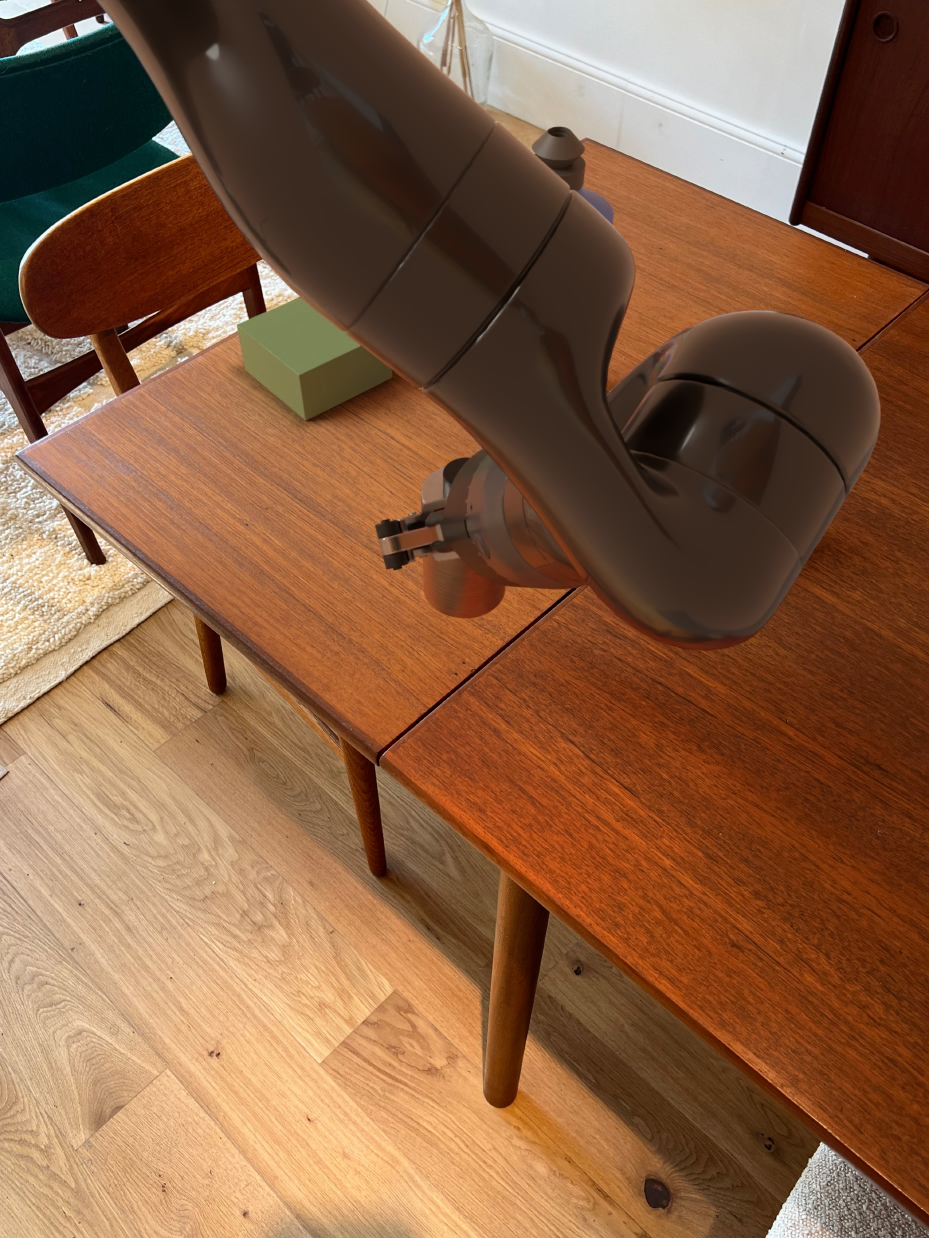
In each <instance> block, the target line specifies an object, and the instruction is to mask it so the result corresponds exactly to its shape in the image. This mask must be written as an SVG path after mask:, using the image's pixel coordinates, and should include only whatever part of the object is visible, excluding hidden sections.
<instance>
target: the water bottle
mask: <svg viewBox="0 0 929 1238" xmlns="http://www.w3.org/2000/svg"><path fill="white" fill-rule="evenodd" d="M531 150H532V152H533V153H534V154H535V155H536V156H537V157H538V158H539V159H540V160H541V161H542V162H544V163H545V164H546V165H547V166H548V167H549V168H550V169H551V170H553V171H554V172H555V173H556V174H557V175H558V176H559V177H560V178H561V179H563V180H564V181H565V182H566V183H567V184H568V185H569V186H570V190H575V191H576V192H577V193H579V194H580V195H581V196H582V197H583V198H584V199H585V200H586V201H588V202H589V203H590V204H591V205H592V206H593V207H594V208H595V209H596V210H598V211H599V212H600V213H601V214H602V215H603V216H604V217H605V218H606V219H607V220H608V221H609V222H610V223H611V224H612V225H613V226H614V218H615V217H614V216H615V212H614V209H613V206H612V205H611V204H610V202H609V201H608V200H607V199H606V198H605V197H603V196H602V195H600V194H599V193H597V192H595V191H593V190H591V189H588V188H586V187H584V185H585V174H586V160H585V159H584V158H583V157H582V156H583V154H584V153H585V151H586V148H585V145H584V144H583V142H582V141H581V140H580V139H579V138H578V137H577V136H576V135H575V133H574V132H573V131H572V130H571V129H570V128H568V127H566V126H552V127H550V128H548V129H547V130H546V131H544V133H543V134H542V135H541V136H539V137H538V138H537V139H536V140H534V141H533V143H532V144H531Z"/></svg>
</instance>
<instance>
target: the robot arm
mask: <svg viewBox="0 0 929 1238" xmlns="http://www.w3.org/2000/svg"><path fill="white" fill-rule="evenodd" d="M95 2H96V3H97V4H98V5H99V7H101V8H102V10H103V11H104V12H105V14H106V15H107V16H108V17H109V19H110V20H111V22H112V23H113V25H114V26H115V27H116V29H117V31H118V32H119V33H120V34H121V36H122V37H123V38H124V40H125V41H126V43H127V44H128V45H129V47H130V48H131V50H132V52H133V53H134V54H135V56H136V58H137V59H138V61H139V62H140V65H141V66H142V68H143V70H144V71H145V73H146V75H148V77H149V79H150V80H151V82H152V84H153V85H154V86H153V87H155V89H156V90H157V93H158V94H159V96H160V98H161V99H162V101H163V103H164V105H165V107H166V109H167V111H168V112H169V114H170V116H171V118H172V120H173V122H174V124H175V125H176V127H177V129H178V131H179V134H180V135H181V137H182V139H183V140H184V142H185V144H186V146H187V148H188V150H189V151H190V153H191V155H192V156H193V158H194V160H195V162H196V163H197V165H198V167H199V169H200V170H201V172H202V174H203V176H204V177H205V180H206V181H207V183H208V184H209V186H210V188H211V190H212V191H213V194H214V195H215V196H216V198H217V200H218V201H219V203H220V205H221V206H222V207H223V209H224V211H225V212H226V214H227V215H228V217H229V219H231V221H232V223H233V224H234V225H235V226H236V227H237V229H238V230H239V231H240V233H241V234H242V236H243V237H244V238H245V240H246V242H248V244H249V245H250V246H251V247H252V249H253V250H254V251H255V252H256V253H257V255H258V256H259V257H260V258H261V259H262V260H263V262H265V264H266V265H267V266H268V267H269V269H271V270H272V272H274V273H275V275H276V276H278V277H279V278H280V279H281V280H282V282H284V284H285V285H286V286H288V288H289V289H291V290H292V291H293V292H294V293H295V294H296V295H297V296H298V297H301V298H302V299H303V300H304V301H305V302H307V303H308V304H309V305H310V306H311V307H312V308H313V309H315V310H316V311H317V312H318V313H319V314H321V315H322V316H323V317H325V318H326V319H327V320H328V321H330V322H331V323H332V324H334V325H335V326H336V327H337V328H339V329H340V330H341V331H343V332H346V333H347V335H348V336H349V337H350V338H352V339H353V340H354V341H355V342H357V343H358V344H359V345H361V346H362V347H363V348H365V349H366V350H367V351H368V352H370V353H371V354H372V355H374V356H375V357H376V358H377V359H379V360H380V361H381V362H383V363H384V364H385V365H387V366H388V367H389V368H390V369H392V372H394V373H395V374H397V375H398V376H399V377H400V378H402V379H404V381H406V382H407V383H408V384H410V385H411V386H413V388H415V389H420V391H421V393H422V395H424V396H426V397H427V398H428V399H429V400H430V401H431V402H433V403H435V404H436V405H437V406H438V407H440V408H441V409H442V410H443V411H444V412H445V413H446V414H447V415H449V417H451V418H452V419H453V420H454V421H455V422H457V424H458V425H460V427H462V429H463V430H464V431H465V432H467V434H469V436H470V437H471V438H472V439H473V440H474V441H475V442H476V443H477V445H478V446H479V447H480V448H481V449H480V450H478V451H477V452H476V453H474V454H473V455H472V456H471V457H469V458H470V459H469V460H468V461H467V462H466V463H465V464H464V465H463V466H462V467H461V469H460V470H459V472H458V473H457V475H456V477H455V479H454V481H453V483H452V485H451V488H450V491H449V494H448V497H447V498H443V499H439V500H435V501H431V502H427V503H424V504H423V505H422V507H421V506H420V513H418V512H417V511H413V512H410V513H407V516H404V517H401V518H398V519H393V520H391V518H386V519H382V520H380V523H376V524H375V525H374V528H375V531H376V535H377V539H378V544H379V547H380V551H381V555H382V558H383V562H384V566H385V570H386V571H387V570H393V571H398V570H402V569H403V566H407V565H409V564H410V563H414V562H416V558H418V559H420V560H421V559H423V558H425V557H428V556H427V555H432V556H433V558H434V559H435V560H436V561H437V562H441V561H447V560H453V559H459V558H461V559H462V560H463V561H464V563H465V564H466V565H467V566H468V567H469V568H471V569H472V570H473V571H474V572H475V573H477V574H478V575H479V576H481V577H483V578H484V579H486V580H488V581H491V582H493V583H496V584H499V585H504V586H506V587H510V588H512V587H513V588H526V589H527V588H529V589H542V590H569V589H570V590H571V589H576V588H581V587H585V586H588V587H589V588H590V589H591V591H592V592H593V594H595V595H596V597H597V598H598V599H599V600H600V601H601V602H602V604H604V605H605V606H606V607H607V608H608V609H609V610H610V611H611V612H612V613H614V615H616V616H617V617H618V618H620V619H621V620H622V621H623V622H624V623H625V624H627V625H628V626H629V627H630V628H633V629H634V630H636V631H638V632H639V633H640V634H642V635H644V636H646V637H648V638H650V639H652V640H654V641H656V642H659V643H661V644H664V645H667V646H671V647H673V648H679V649H682V650H688V651H689V650H690V651H705V652H710V651H717V650H725V649H729V648H732V647H735V646H737V645H741V644H743V643H745V642H747V641H748V640H750V639H752V638H753V637H755V636H756V635H757V634H758V633H759V632H760V631H762V629H763V628H765V626H766V625H768V624H769V621H770V620H771V619H772V618H773V617H774V616H775V614H776V612H777V611H778V609H779V608H780V606H781V605H782V603H783V601H784V600H785V598H787V595H788V594H789V592H790V590H791V589H792V587H793V586H794V584H795V583H796V580H798V577H799V576H800V574H801V571H802V570H803V568H804V567H805V565H806V563H808V560H809V558H810V557H811V555H812V554H813V552H814V550H816V547H818V545H819V543H820V541H821V540H822V538H823V537H824V535H825V534H826V532H827V531H828V528H829V527H830V525H831V524H832V522H833V521H834V519H835V518H836V516H837V514H838V513H839V511H840V510H841V508H842V506H843V505H844V502H845V501H846V500H847V498H848V497H849V495H850V494H851V492H852V490H853V488H854V487H855V485H856V483H857V481H858V480H859V478H860V477H861V475H862V474H863V472H864V470H865V468H866V467H867V465H868V463H869V461H870V459H871V457H872V454H873V452H874V450H875V447H876V444H877V442H878V437H879V434H880V433H879V432H880V427H881V419H882V412H881V401H880V396H879V391H878V388H877V387H878V386H877V384H876V381H875V379H874V377H873V375H872V373H871V371H870V370H869V367H868V366H867V364H866V363H865V361H864V359H863V358H862V357H861V355H860V354H859V353H858V351H856V349H854V347H852V345H850V343H848V342H847V341H846V340H845V339H844V338H842V337H841V336H839V335H838V334H836V332H834V331H832V330H830V329H829V328H827V327H826V326H824V325H822V324H820V323H817V322H816V321H814V320H811V319H808V318H806V317H803V316H800V315H796V314H792V313H787V312H783V311H782V312H781V311H775V310H774V311H773V310H757V309H756V310H742V311H734V312H727V313H722V314H718V315H715V316H711V317H709V318H706V319H703V320H700V321H698V322H696V323H694V324H692V325H690V326H688V327H686V328H685V329H682V330H681V331H679V332H678V333H677V334H675V335H674V336H672V337H671V338H669V339H668V340H666V341H665V342H664V343H663V344H661V345H660V346H659V347H657V348H656V349H655V350H654V351H653V352H651V353H650V354H649V355H648V356H647V357H646V358H644V359H643V360H642V361H641V362H640V363H638V365H636V366H635V367H634V368H633V369H632V370H630V371H629V373H628V374H626V375H625V376H624V377H623V378H622V379H621V380H620V381H618V382H617V383H616V384H615V385H614V386H613V387H612V388H611V389H610V390H609V391H608V390H607V388H608V379H609V368H610V364H611V361H612V356H613V353H614V349H615V346H616V344H617V340H618V337H619V334H620V331H621V329H622V325H623V323H624V320H625V317H626V314H627V311H628V308H629V305H630V302H631V299H632V295H633V291H634V288H635V283H636V269H637V268H636V261H635V257H634V254H633V252H632V249H631V247H630V246H629V244H628V242H627V241H626V239H625V238H624V237H623V235H622V234H621V233H620V231H619V230H618V229H617V228H616V227H615V226H614V224H613V225H612V224H611V223H610V222H609V221H608V220H607V219H606V218H605V217H604V216H603V215H602V214H601V213H600V212H599V211H598V210H596V209H595V208H594V207H593V206H592V205H591V204H590V203H589V202H588V201H586V200H585V199H584V198H583V197H582V196H581V195H580V194H579V193H577V192H576V191H575V190H570V186H569V185H568V184H567V183H566V182H565V181H564V180H563V179H561V178H560V177H559V176H558V175H557V174H556V173H555V172H554V171H553V170H551V169H550V168H549V167H548V166H547V165H546V164H545V163H544V162H542V161H541V160H540V159H539V158H538V157H537V156H536V155H535V153H534V152H533V151H531V150H530V149H529V148H528V147H527V146H526V145H525V144H524V143H523V142H521V141H520V140H519V139H518V138H517V137H516V136H514V134H513V133H512V132H510V131H509V129H507V128H506V127H504V125H502V124H501V123H500V122H499V121H497V120H496V118H495V117H494V115H492V114H491V113H489V112H488V111H487V110H486V109H485V108H484V107H483V106H482V105H481V104H479V103H478V102H477V101H476V100H475V99H474V98H472V97H471V96H470V94H468V93H467V92H466V91H465V90H464V89H462V88H461V87H460V86H459V85H458V84H457V83H456V82H454V81H453V80H452V79H451V78H450V77H449V76H447V74H445V73H444V72H443V71H442V70H441V69H440V68H439V67H438V66H437V65H435V64H434V62H432V61H431V60H430V59H429V58H428V57H427V56H426V55H425V54H424V53H423V52H422V51H420V50H419V49H418V48H417V47H416V46H415V45H414V44H413V43H412V42H411V41H410V40H409V39H408V38H406V36H404V35H403V34H402V33H401V32H400V31H399V30H398V29H397V28H396V27H395V26H394V25H393V24H392V23H391V22H389V20H388V19H386V17H385V16H384V15H383V14H382V13H381V12H380V11H379V10H377V8H376V7H375V6H374V5H372V4H371V2H369V1H368V0H95ZM393 571H392V572H393Z"/></svg>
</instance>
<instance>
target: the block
mask: <svg viewBox="0 0 929 1238" xmlns="http://www.w3.org/2000/svg"><path fill="white" fill-rule="evenodd" d="M236 329H237V334H238V339H239V340H238V341H239V346H240V350H241V355H242V361H243V365H244V370H245V372H246V373H248V375H250V376H251V377H253V378H254V379H255V380H256V381H258V383H259V384H261V385H262V386H263V387H265V388H266V389H267V390H268V391H269V392H271V394H273V395H274V396H275V397H276V398H278V400H281V402H282V403H283V404H285V405H286V406H287V407H288V408H289V409H290V410H292V411H293V412H294V413H295V414H297V415H298V416H299V417H300V418H301V419H303V420H304V421H305V422H307V421H309V420H310V419H312V418H315V417H317V416H318V415H321V414H322V413H325V412H327V411H329V410H330V409H332V408H334V407H336V406H338V405H340V404H342V403H345V402H346V401H348V400H350V399H353V398H354V397H357V396H358V395H361V394H362V393H365V392H367V391H369V390H371V389H373V388H374V387H376V386H379V385H381V384H382V383H384V382H387V381H389V380H391V379H392V378H393V370H392V369H390V368H389V367H388V366H387V365H385V364H384V363H383V362H381V361H380V360H379V359H377V358H376V357H375V356H374V355H372V354H371V353H370V352H368V351H367V350H366V349H365V348H363V347H362V346H361V345H359V344H358V343H357V342H355V341H354V340H353V339H352V338H350V337H349V336H348V335H347V333H346V332H343V331H341V330H340V329H339V328H337V327H336V326H335V325H334V324H332V323H331V322H330V321H328V320H327V319H326V318H325V317H323V316H322V315H321V314H319V313H318V312H317V311H316V310H315V309H313V308H312V307H311V306H310V305H309V304H308V303H307V302H305V301H304V300H303V299H302V298H301V297H300V296H298V297H297V298H294V299H293V300H290V301H287V302H286V303H283V304H281V305H278V306H276V307H274V308H272V309H269V310H267V311H264V312H263V313H260V314H258V315H255V316H253V317H251V318H249V319H246V320H244V321H242V322H239V323H237V324H236Z"/></svg>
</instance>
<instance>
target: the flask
mask: <svg viewBox="0 0 929 1238" xmlns="http://www.w3.org/2000/svg"><path fill="white" fill-rule="evenodd" d="M470 458H471V457H469V456H468V457H458V458H455V459H452V460H450V461H449V462H448V463H447V464H446V465H444V466H441V467H439V468H437V469H436V470H434V471H433V472H431V473H430V474H429V475H428V476H427V477H426V479H425V480H424V481H423V483H422V486H421V488H420V508H421V507H422V505H423V504H424V503H427V502H431V501H435V500H439V499H443V498H447V497H448V494H449V491H450V488H451V485H452V483H453V481H454V479H455V477H456V475H457V473H458V472H459V470H460V469H461V467H462V466H463V465H464V464H465V463H466V462H467V461H468V460H469V459H470ZM427 556H428V557H425V558H422V583H423V584H422V585H423V586H422V587H423V594H424V597H425V599H426V601H427V602H428V604H430V606H431V607H432V608H433V609H435V610H436V611H438V612H439V613H441V614H442V615H445V616H448V617H451V618H456V619H474V618H479V617H482V616H484V615H487V614H489V613H491V612H492V611H494V610H495V609H496V608H497V607H498V606H500V604H501V603H502V601H503V600H504V597H505V594H506V588H507V586H504V585H499V584H496V583H493V582H491V581H488V580H486V579H484V578H483V577H481V576H479V575H478V574H477V573H475V572H474V571H473V570H472V569H471V568H469V567H468V566H467V565H466V564H465V563H464V561H463V560H462V559H461V558H459V559H453V560H447V561H441V562H437V561H436V560H435V559H434V558H433V556H432V555H427Z"/></svg>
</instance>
